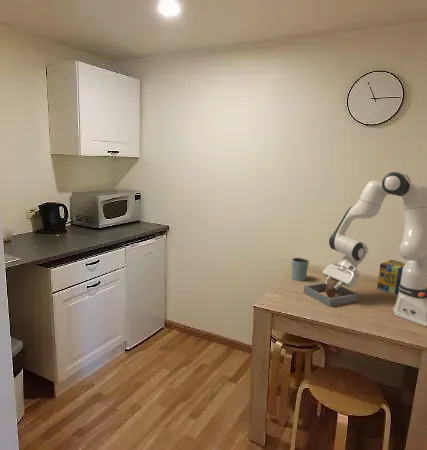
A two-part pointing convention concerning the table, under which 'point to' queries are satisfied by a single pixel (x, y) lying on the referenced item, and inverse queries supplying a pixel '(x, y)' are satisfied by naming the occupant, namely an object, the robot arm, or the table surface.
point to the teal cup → (299, 269)
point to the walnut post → (331, 287)
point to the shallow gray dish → (331, 300)
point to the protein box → (390, 276)
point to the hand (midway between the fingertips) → (330, 286)
